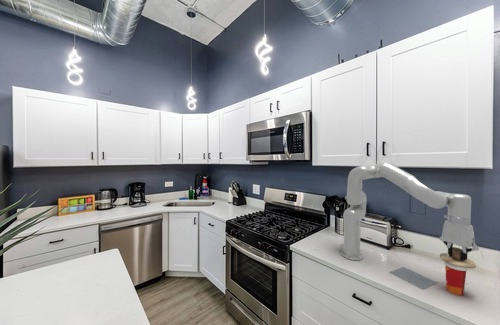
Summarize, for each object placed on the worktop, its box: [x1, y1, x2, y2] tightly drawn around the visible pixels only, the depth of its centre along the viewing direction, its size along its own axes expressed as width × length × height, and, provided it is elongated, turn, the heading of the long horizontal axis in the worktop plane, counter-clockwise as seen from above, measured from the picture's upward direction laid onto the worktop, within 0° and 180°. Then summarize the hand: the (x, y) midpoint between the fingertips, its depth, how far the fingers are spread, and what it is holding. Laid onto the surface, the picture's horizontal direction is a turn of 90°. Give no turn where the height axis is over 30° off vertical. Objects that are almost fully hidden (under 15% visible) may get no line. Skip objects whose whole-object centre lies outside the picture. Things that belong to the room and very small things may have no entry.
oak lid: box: [439, 246, 477, 269], centre depth 94 cm, size 12×12×6 cm
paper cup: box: [443, 261, 469, 296], centre depth 95 cm, size 8×8×14 cm
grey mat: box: [388, 266, 439, 290], centre depth 106 cm, size 16×14×1 cm
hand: (457, 257), depth 95 cm, fingers closed on oak lid, 3 cm apart
